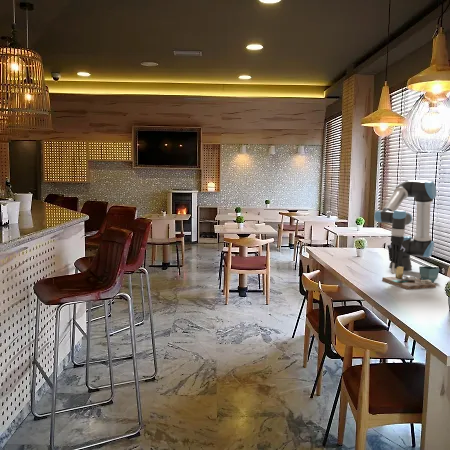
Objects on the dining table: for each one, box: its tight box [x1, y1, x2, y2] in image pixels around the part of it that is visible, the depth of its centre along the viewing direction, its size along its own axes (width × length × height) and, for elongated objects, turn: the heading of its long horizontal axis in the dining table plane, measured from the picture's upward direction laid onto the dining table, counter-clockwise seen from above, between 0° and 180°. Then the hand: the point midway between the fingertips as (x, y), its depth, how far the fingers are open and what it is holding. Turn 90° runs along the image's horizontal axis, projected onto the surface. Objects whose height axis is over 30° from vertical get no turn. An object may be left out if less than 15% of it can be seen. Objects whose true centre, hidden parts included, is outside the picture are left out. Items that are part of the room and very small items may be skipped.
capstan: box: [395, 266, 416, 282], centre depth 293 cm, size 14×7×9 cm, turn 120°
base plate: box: [381, 276, 437, 290], centre depth 295 cm, size 22×22×4 cm
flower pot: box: [418, 265, 440, 283], centre depth 305 cm, size 9×9×9 cm
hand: (394, 273), depth 294 cm, fingers closed
